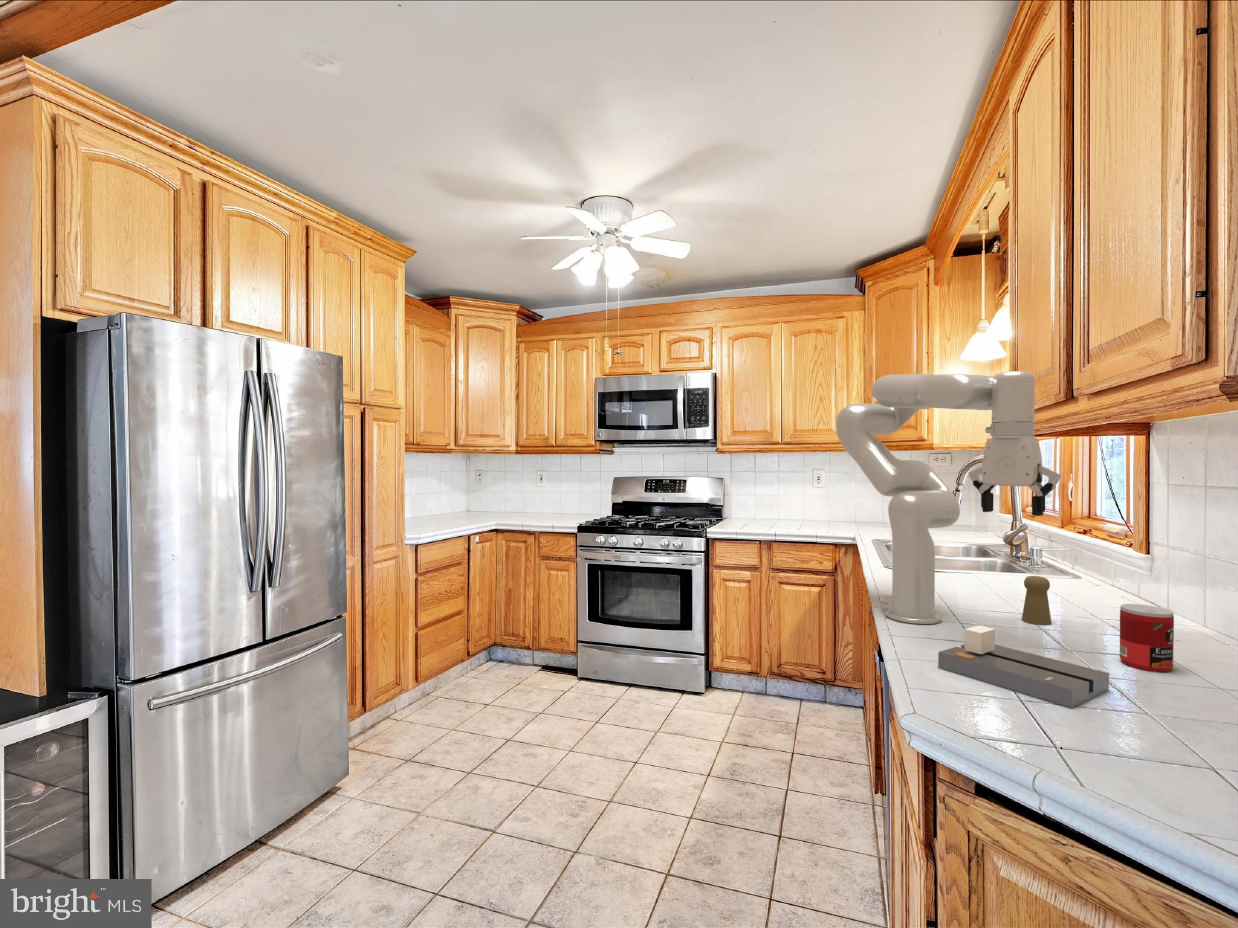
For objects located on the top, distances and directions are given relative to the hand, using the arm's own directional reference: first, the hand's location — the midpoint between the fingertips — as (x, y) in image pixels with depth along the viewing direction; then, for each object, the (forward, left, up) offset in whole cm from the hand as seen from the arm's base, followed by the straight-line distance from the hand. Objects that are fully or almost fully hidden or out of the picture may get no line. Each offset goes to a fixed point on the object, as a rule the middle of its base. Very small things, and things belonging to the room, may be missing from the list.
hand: (1011, 513), depth 127 cm
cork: (-7, +27, -28) cm, 40 cm away
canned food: (+19, +11, -28) cm, 36 cm away
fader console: (+10, -17, -28) cm, 34 cm away
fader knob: (+3, -17, -27) cm, 32 cm away
